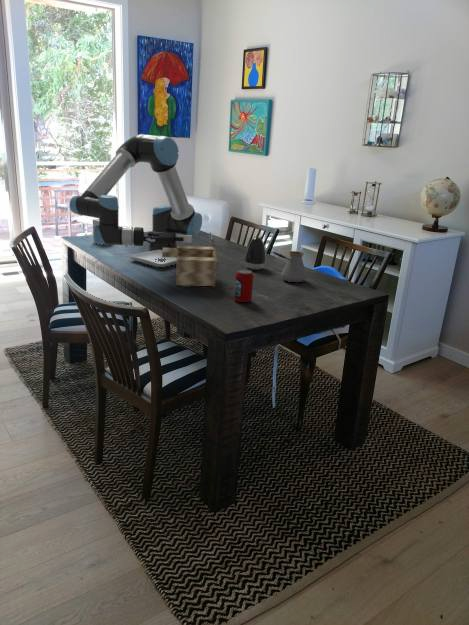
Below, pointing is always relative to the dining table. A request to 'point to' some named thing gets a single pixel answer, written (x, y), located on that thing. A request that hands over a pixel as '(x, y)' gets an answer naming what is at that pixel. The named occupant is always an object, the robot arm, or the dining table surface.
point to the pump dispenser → (255, 254)
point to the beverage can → (243, 285)
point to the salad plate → (152, 255)
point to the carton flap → (213, 244)
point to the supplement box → (95, 222)
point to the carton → (193, 265)
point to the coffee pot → (293, 267)
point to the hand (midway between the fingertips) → (191, 239)
